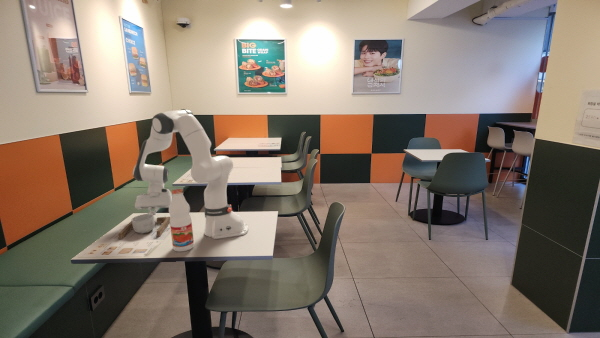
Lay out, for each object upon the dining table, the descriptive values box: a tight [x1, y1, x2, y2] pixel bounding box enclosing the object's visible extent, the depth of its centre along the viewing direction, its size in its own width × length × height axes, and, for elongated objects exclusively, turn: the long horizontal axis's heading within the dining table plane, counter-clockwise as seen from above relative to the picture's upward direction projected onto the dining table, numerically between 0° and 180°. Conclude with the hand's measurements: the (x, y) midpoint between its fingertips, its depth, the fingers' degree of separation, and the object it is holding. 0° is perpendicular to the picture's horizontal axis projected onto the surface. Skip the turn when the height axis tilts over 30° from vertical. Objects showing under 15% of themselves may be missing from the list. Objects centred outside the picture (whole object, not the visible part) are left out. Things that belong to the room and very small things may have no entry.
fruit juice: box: [168, 188, 195, 253], centre depth 152 cm, size 9×9×28 cm
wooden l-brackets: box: [117, 216, 171, 240], centre depth 177 cm, size 20×20×3 cm
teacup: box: [130, 212, 156, 234], centre depth 176 cm, size 14×11×8 cm
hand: (152, 214), depth 187 cm, fingers closed
